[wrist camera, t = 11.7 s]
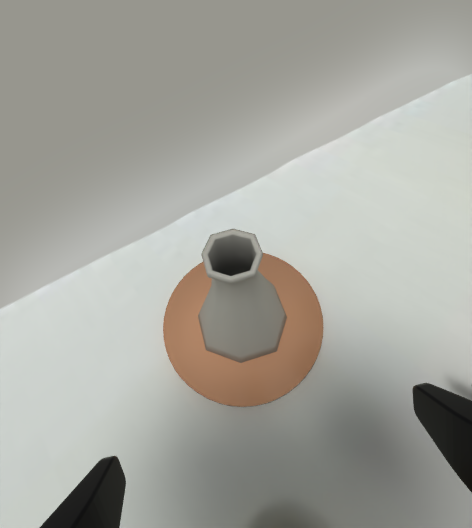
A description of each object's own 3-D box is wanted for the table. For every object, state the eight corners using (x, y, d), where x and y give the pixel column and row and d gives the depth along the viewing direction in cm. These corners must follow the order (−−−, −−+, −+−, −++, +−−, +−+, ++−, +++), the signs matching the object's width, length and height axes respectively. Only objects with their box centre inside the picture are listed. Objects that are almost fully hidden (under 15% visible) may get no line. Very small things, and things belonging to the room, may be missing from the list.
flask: (193, 362, 22) (150, 320, 13) (202, 278, 26) (173, 201, 17) (289, 364, 21) (309, 321, 13) (284, 278, 25) (297, 198, 16)
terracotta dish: (329, 271, 26) (332, 266, 25) (307, 430, 20) (309, 430, 19) (196, 244, 29) (194, 239, 28) (141, 379, 23) (136, 377, 22)
